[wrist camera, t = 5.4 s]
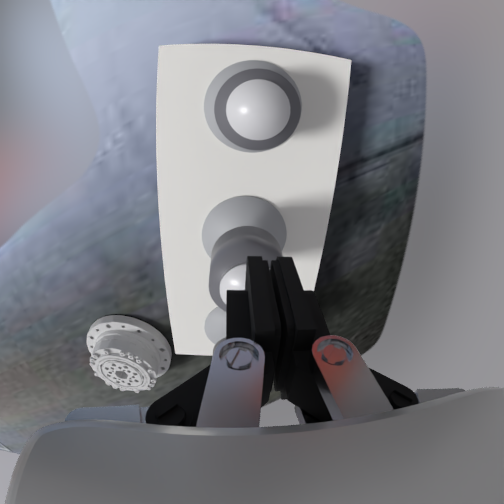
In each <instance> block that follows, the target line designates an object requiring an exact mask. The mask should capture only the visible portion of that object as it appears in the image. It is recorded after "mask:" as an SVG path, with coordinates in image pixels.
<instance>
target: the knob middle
mask: <svg viewBox="0 0 504 504" xmlns="http://www.w3.org/2000/svg"><path fill="white" fill-rule="evenodd" d="M247 256H262V259H263V260H268V265H269V270H270V266H271V261H272V260H276V258H277V256H278V257H283V255H282V251H281V248H280V245H279V243H278V241H277V240H276V239H275V237H274V236H273V235H272V234H270V233H269V232H268V231H266V230H264V229H261V228H258V227H254V226H241V227H236V228H233V229H231V230H229V231H227V232H225V233H224V234H223V235H221V236H220V237H219V238H218V240H217V241H216V242H215V244H214V246H213V249H212V252H211V262H210V274H209V292H210V296H211V298H212V300H213V301H214V302H215V304H216V305H217V306H218V307H219V308H221V309H222V310H224V311H225V312H226V297H227V290H245V280H246V262H247Z"/></svg>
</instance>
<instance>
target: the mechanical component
mask: <svg viewBox="0 0 504 504" xmlns="http://www.w3.org/2000/svg"><path fill="white" fill-rule="evenodd" d="M87 346H88V349H89V351H90V353H91V354H92V355H91V357H90V366H91V367H92V368H93V370H94V371H95V376H99V377H100V378H102V379H103V380H104V381H106V384H107V385H110V384H111V385H112V387H113V388H115V389H117V387H118V388H120V390H121V391H125V390H132V391H135V392H136V393H139V391H140V390H145V389H147V390H150V389H151V387H153V386H154V385H155V382H156V378H157V377H159V376H161V375H163V374H164V373H165V372H166V371H167V370H168V369H169V366H170V362H171V356H172V353H171V347H170V345H169V343H168V341H167V340H166V338H165V337H164V336H163V335H162V334H161V333H160V332H159V331H158V330H156V329H155V328H154V327H152V326H151V325H149V324H147V323H146V322H143V321H141V320H138V319H136V318H133V317H128V316H123V315H110V316H104V317H102V318H100V319H98V320H96V321H95V322H94V323H93V324H92V325H91V327H90V330H89V332H88V334H87Z"/></svg>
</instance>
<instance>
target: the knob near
mask: <svg viewBox="0 0 504 504" xmlns="http://www.w3.org/2000/svg"><path fill="white" fill-rule="evenodd" d="M214 114H215V119H216V123H217V125H218V127H219V129H220V131H221V132H222V134H223V135H224V136H225V137H226V138H227V139H228V140H229V141H231V142H232V143H233V144H235V145H237V146H239V147H242V148H244V149H248V150H267V149H271V148H273V147H276V146H278V145H280V144H282V143H283V142H284V141H286V140H287V139H288V138H289V137H290V136H291V135H292V134H293V132H294V131H295V129H296V127H297V125H298V123H299V119H300V114H301V105H300V100H299V96H298V94H297V92H296V90H295V88H294V87H293V85H292V84H291V83H290V82H289V81H288V80H287V79H286V78H285V77H283V76H282V75H280V74H278V73H276V72H274V71H271V70H267V69H260V68H255V69H248V70H244V71H241V72H239V73H237V74H235V75H233V76H232V77H230V78H229V79H228V80H227V81H226V82H225V83H224V84H223V85H222V87H221V88H220V90H219V92H218V94H217V96H216V100H215V105H214Z"/></svg>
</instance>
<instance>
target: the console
mask: <svg viewBox="0 0 504 504" xmlns="http://www.w3.org/2000/svg"><path fill="white" fill-rule="evenodd" d="M255 68H260V69H267V70H271V71H274V72H276V73H278V74H280V75H282V76H283V77H285V78H286V79H287V80H288V81H289V82H290V83H291V84H292V85H293V87H294V88H295V90H296V92H297V94H298V96H299V100H300V105H301V114H300V119H299V123H298V125H297V127H296V129H295V131H294V132H293V134H292V135H291V136H290V137H289V138H288V139H287V140H286V141H284V142H283V143H282V144H280V145H278V146H276V147H273V148H271V149H267V150H248V149H244V148H242V147H239V146H237V145H235V144H233V143H232V142H231V141H229V140H228V139H227V138H226V137H225V136H224V135H223V134H222V132H221V131H220V129H219V127H218V125H217V123H216V119H215V114H214V105H215V100H216V96H217V94H218V92H219V90H220V88H221V87H222V85H223V84H224V83H225V82H226V81H227V80H228V79H229V78H230V77H232V76H233V75H235V74H237V73H239V72H241V71H244V70H248V69H255ZM350 70H351V60H348V59H344V58H339V57H334V56H329V55H324V54H318V53H313V52H306V51H300V50H292V49H285V48H276V47H266V46H254V45H237V44H178V45H161V46H159V55H158V73H157V104H156V151H157V184H158V203H159V219H160V233H161V245H162V256H163V266H164V275H165V284H166V292H167V300H168V308H169V315H170V322H171V329H172V336H173V342H174V348H175V354H186V355H213V348H214V346H215V344H216V343H217V342H218V341H220V340H221V339H223V338H225V337H226V312H225V311H224V310H222V309H221V308H219V307H218V306H217V305H216V304H215V302H214V301H213V300H212V298H211V296H210V292H209V274H210V262H211V252H212V249H213V246H214V244H215V242H216V241H217V240H218V238H219V237H220V236H221V235H223V234H224V233H225V232H227V231H229V230H231V229H233V228H236V227H241V226H254V227H258V228H261V229H264V230H266V231H268V232H269V233H270V234H272V235H273V236H274V237H275V239H276V240H277V241H278V243H279V245H280V248H281V251H282V255H283V257H292V258H293V261H294V264H295V267H296V269H297V272H298V275H299V278H300V281H301V284H302V287H303V290H312V291H313V292H314V288H315V284H316V279H317V275H318V270H319V266H320V261H321V256H322V252H323V247H324V242H325V237H326V232H327V227H328V222H329V216H330V211H331V206H332V200H333V194H334V189H335V183H336V177H337V171H338V164H339V158H340V151H341V145H342V138H343V130H344V123H345V115H346V107H347V98H348V89H349V80H350Z"/></svg>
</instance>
